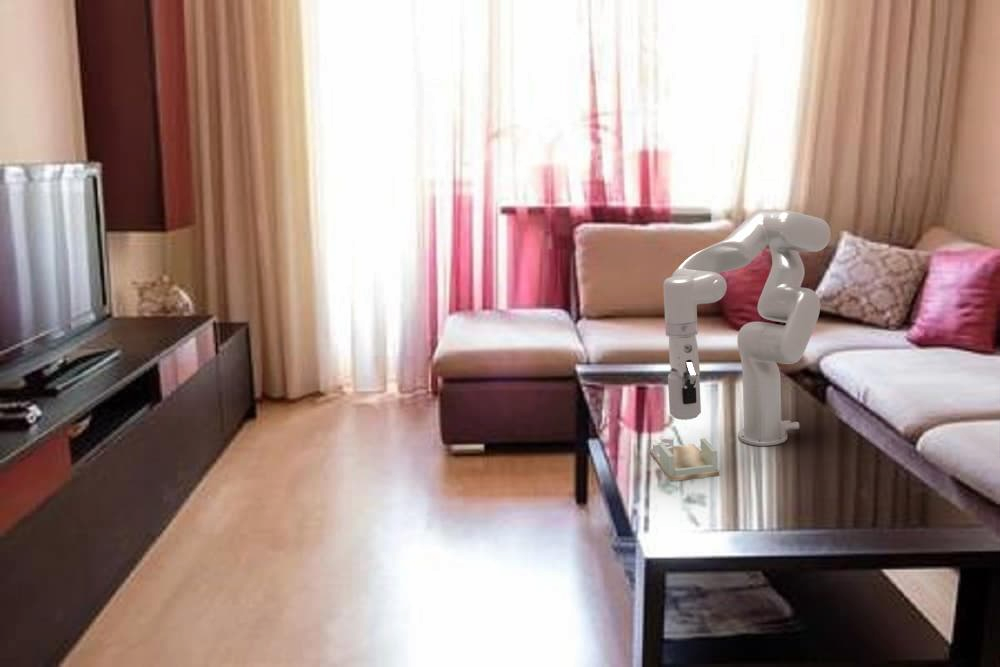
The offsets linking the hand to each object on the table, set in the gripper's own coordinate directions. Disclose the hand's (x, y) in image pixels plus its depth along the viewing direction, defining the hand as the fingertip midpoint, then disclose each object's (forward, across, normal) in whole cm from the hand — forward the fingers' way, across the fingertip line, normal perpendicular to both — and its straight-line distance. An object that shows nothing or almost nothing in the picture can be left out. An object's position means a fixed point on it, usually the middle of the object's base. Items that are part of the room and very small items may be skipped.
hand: (684, 397), depth 216 cm
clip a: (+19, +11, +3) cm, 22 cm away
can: (+5, 0, 0) cm, 5 cm away
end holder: (+18, -1, 0) cm, 18 cm away
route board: (+19, +4, 0) cm, 19 cm away
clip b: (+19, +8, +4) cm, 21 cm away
